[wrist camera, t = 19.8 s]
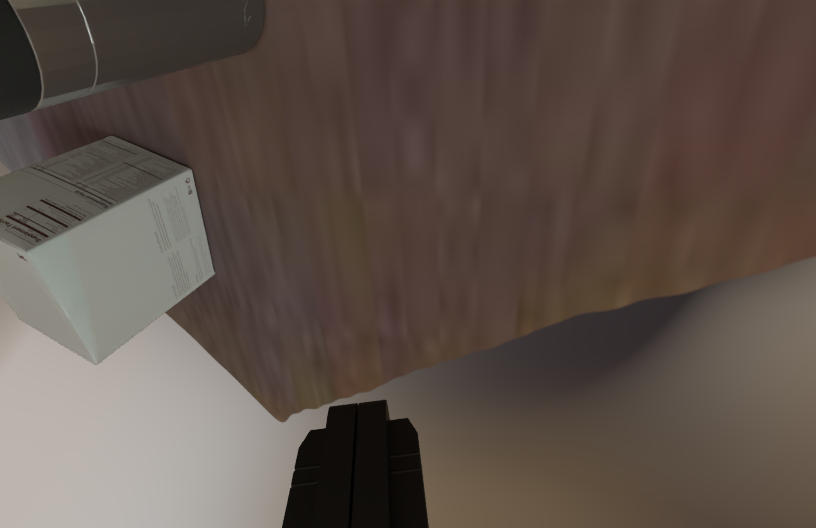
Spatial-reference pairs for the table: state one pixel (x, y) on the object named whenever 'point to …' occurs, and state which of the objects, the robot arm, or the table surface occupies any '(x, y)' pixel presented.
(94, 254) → the supplement box
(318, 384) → the table surface
